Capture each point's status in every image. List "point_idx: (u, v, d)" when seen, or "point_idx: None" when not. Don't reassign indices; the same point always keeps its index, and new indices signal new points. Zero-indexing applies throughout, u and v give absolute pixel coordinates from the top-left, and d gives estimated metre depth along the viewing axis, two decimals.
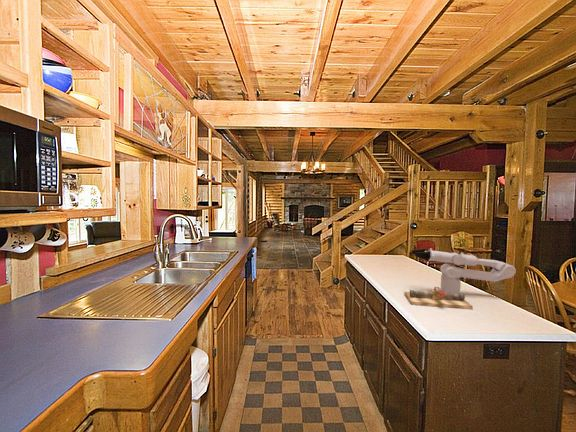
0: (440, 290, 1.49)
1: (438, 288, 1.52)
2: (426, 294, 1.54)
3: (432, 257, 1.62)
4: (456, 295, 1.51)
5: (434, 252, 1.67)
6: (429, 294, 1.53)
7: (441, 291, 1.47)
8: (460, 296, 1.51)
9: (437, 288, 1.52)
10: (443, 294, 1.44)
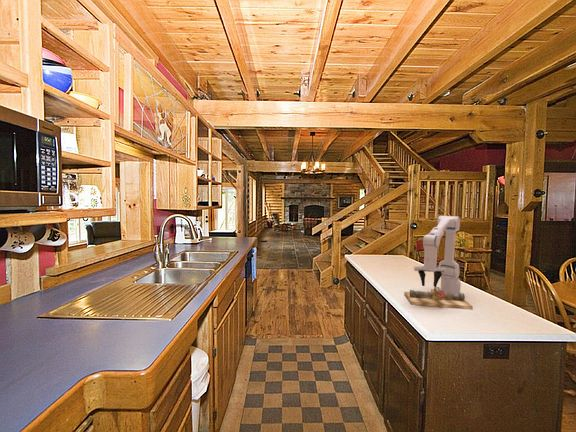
0: (440, 290, 1.49)
1: (438, 288, 1.52)
2: (426, 294, 1.54)
3: None
4: (456, 295, 1.51)
5: (435, 266, 1.45)
6: (429, 294, 1.53)
7: (441, 291, 1.47)
8: (460, 296, 1.51)
9: (437, 288, 1.52)
10: (443, 294, 1.44)
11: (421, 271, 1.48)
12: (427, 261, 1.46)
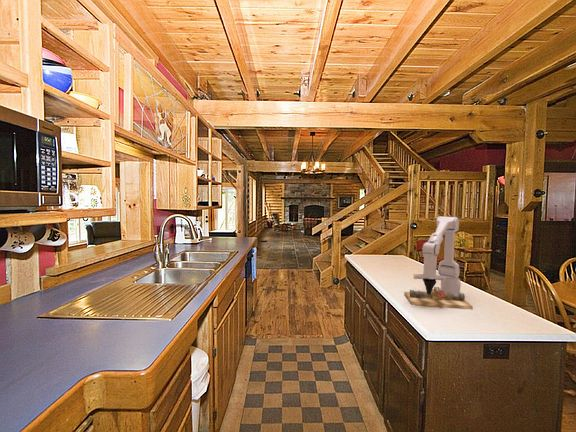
0: (440, 290, 1.49)
1: (438, 288, 1.52)
2: (426, 294, 1.54)
3: None
4: (456, 295, 1.51)
5: (434, 274, 1.46)
6: (429, 294, 1.53)
7: (441, 291, 1.47)
8: (460, 296, 1.51)
9: (437, 288, 1.52)
10: (443, 294, 1.44)
11: (426, 279, 1.48)
12: (427, 269, 1.46)
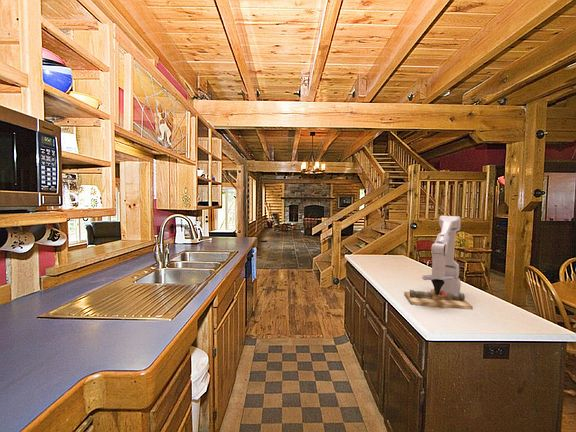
0: (440, 290, 1.48)
1: None
2: (426, 294, 1.54)
3: None
4: (456, 295, 1.51)
5: (443, 274, 1.45)
6: (429, 294, 1.53)
7: (441, 291, 1.47)
8: (460, 296, 1.51)
9: None
10: (444, 294, 1.44)
11: (435, 280, 1.47)
12: (436, 270, 1.45)
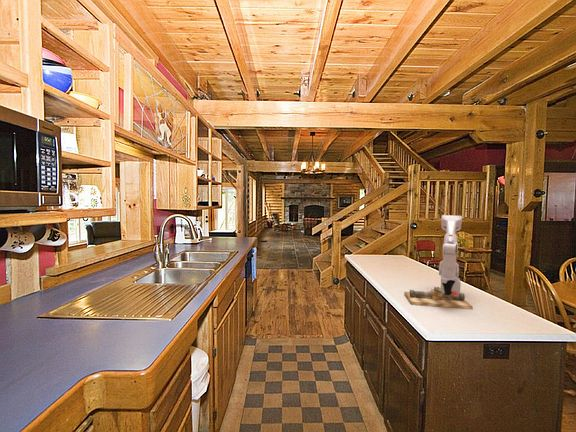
0: None
1: (439, 288, 1.53)
2: (426, 294, 1.54)
3: None
4: None
5: None
6: (429, 294, 1.53)
7: None
8: (460, 296, 1.51)
9: (439, 288, 1.53)
10: (457, 293, 1.46)
11: (449, 281, 1.46)
12: (452, 270, 1.44)
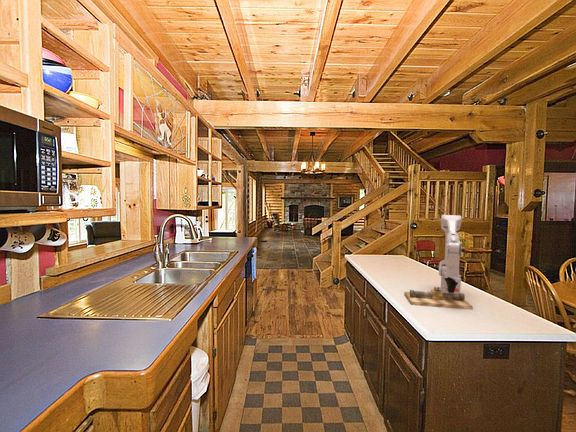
0: (447, 288, 1.53)
1: None
2: (426, 294, 1.54)
3: None
4: (456, 295, 1.51)
5: None
6: (429, 294, 1.53)
7: None
8: (460, 296, 1.51)
9: None
10: None
11: (455, 279, 1.49)
12: (458, 268, 1.48)
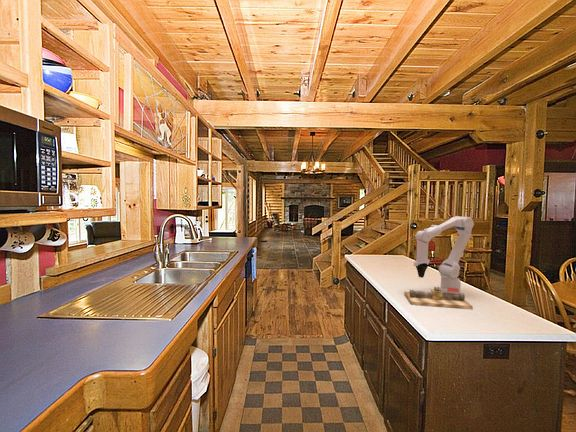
0: None
1: None
2: (426, 294, 1.54)
3: None
4: (456, 295, 1.51)
5: None
6: (429, 294, 1.53)
7: (451, 288, 1.53)
8: (460, 296, 1.51)
9: None
10: None
11: (421, 264, 1.63)
12: (424, 255, 1.62)
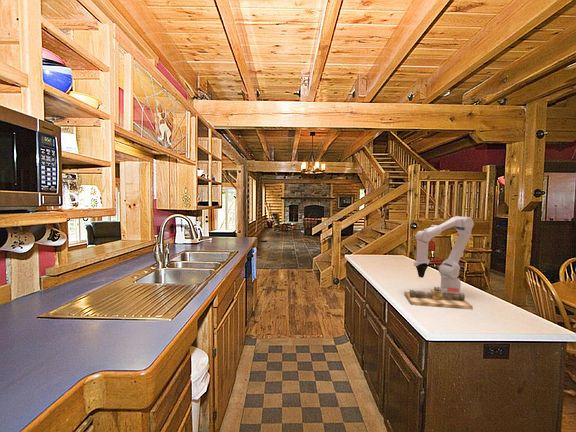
0: None
1: None
2: (426, 294, 1.54)
3: None
4: (456, 295, 1.51)
5: None
6: (429, 294, 1.53)
7: (451, 288, 1.53)
8: (460, 296, 1.51)
9: None
10: None
11: (421, 264, 1.63)
12: (424, 255, 1.62)
